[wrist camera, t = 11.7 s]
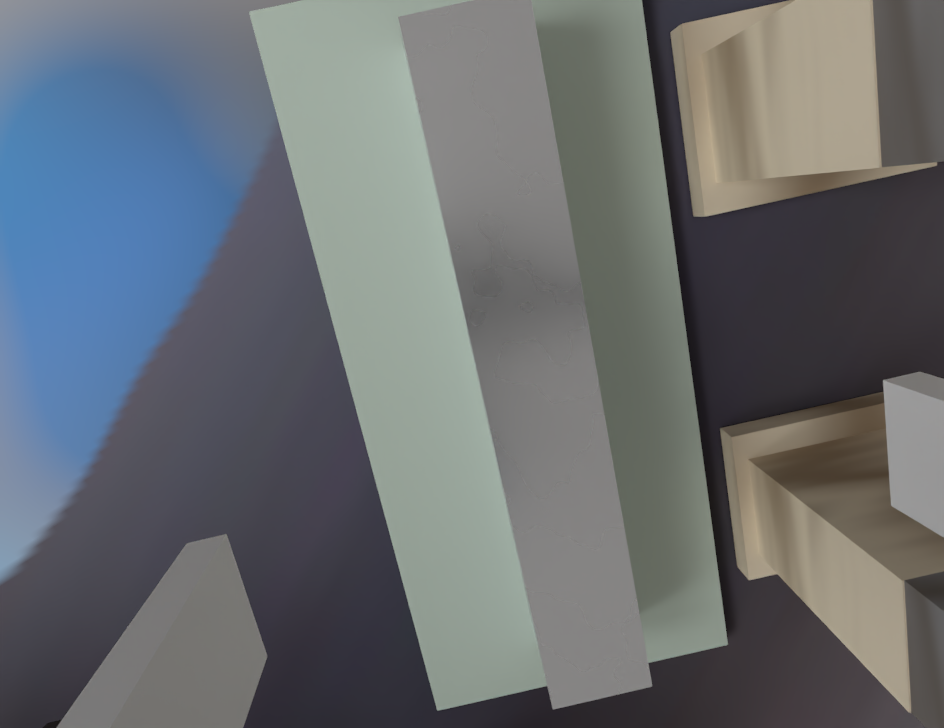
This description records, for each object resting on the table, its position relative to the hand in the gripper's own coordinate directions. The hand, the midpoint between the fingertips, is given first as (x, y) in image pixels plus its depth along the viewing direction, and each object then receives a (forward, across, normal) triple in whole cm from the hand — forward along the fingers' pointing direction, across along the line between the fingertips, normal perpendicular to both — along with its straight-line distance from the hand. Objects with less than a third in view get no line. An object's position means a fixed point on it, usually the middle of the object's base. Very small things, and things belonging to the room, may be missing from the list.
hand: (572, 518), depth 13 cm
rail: (+10, -1, 0) cm, 11 cm away
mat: (+11, -1, 0) cm, 11 cm away
